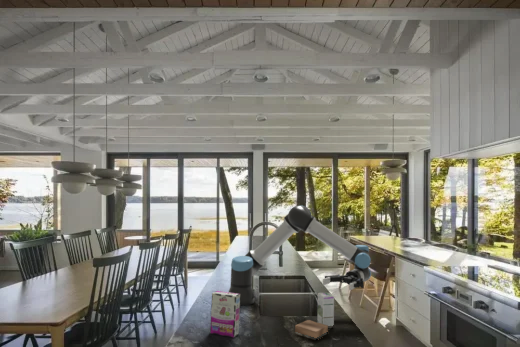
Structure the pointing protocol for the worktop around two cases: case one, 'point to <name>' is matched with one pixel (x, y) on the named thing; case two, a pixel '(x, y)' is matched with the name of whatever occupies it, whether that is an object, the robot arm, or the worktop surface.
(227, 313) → the candy bar box
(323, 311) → the syrup box
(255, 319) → the worktop surface
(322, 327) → the wood block
